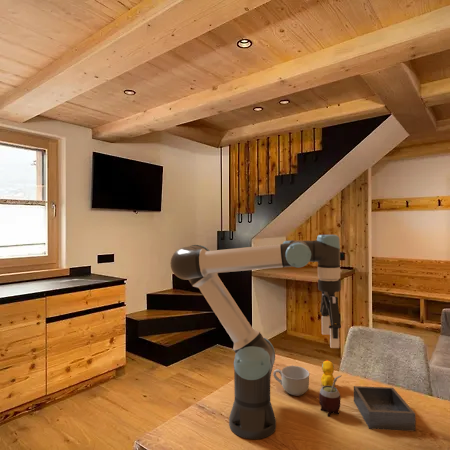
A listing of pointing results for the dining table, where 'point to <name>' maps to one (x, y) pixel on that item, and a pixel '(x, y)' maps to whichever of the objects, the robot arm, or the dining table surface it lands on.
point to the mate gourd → (330, 399)
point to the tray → (384, 408)
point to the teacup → (293, 379)
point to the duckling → (327, 373)
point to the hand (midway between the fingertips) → (330, 340)
